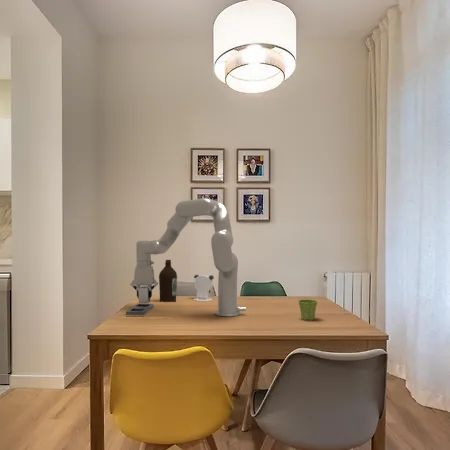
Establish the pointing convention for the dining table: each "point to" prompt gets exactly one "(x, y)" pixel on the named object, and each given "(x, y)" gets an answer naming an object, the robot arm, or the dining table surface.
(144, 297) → the block
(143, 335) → the dining table surface
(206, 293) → the panda figurine
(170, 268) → the olive oil
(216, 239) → the robot arm
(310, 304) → the plant pot
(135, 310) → the rail
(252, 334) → the dining table surface
